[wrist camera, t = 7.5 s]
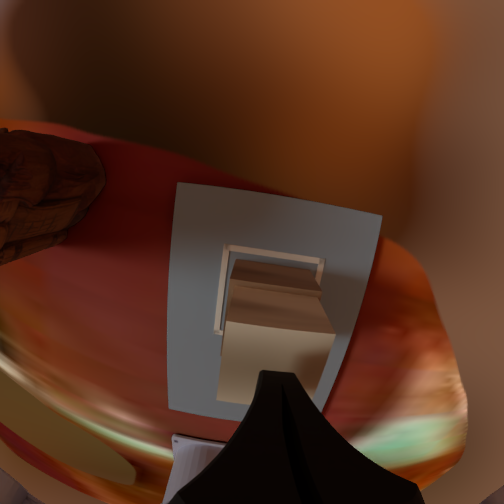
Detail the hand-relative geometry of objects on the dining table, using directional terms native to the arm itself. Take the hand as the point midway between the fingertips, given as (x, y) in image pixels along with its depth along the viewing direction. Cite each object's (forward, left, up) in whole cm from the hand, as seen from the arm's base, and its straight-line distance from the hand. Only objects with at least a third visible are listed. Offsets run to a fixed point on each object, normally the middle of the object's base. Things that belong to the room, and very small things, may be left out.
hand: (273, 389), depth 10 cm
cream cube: (0, 0, -5) cm, 5 cm away
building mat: (-3, 0, -10) cm, 11 cm away
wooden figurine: (+5, +18, -10) cm, 21 cm away
